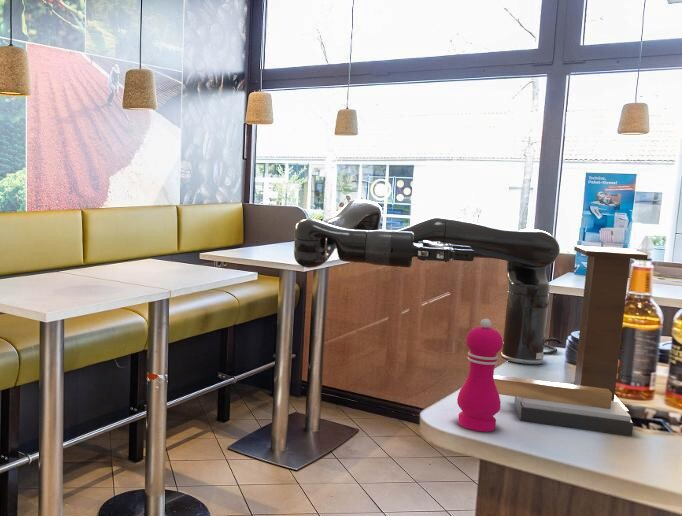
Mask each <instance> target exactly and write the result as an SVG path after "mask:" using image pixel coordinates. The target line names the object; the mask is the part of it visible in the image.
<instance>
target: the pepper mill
mask: <svg viewBox="0 0 682 516" xmlns="http://www.w3.org/2000/svg"><path fill="white" fill-rule="evenodd" d="M491 326H492V321H491V320H490V319H489V318H483V319H481V320H480V326H477V327H474V328H472V329H470V330H469V332H467V335H466V341H465V343H466V346H467V348H468V349H469V351H468V352H467V355H468V356H467V360H468V361H469V371H468V375H467V378H466V380H465V382H464V383H463V384H462V386H461V388H460V389H459V392H458V394H457V398H456V403H457V406H458V408H459V409H460V410H461V411H460V412H459V413H458V418H457V419H458V420H457V423H458V424H459V425H460V426H461V427H463V428H465V429H467V430H471V431H476V432H482V433H483V432H485V433H486V432H493V431H495V430H496V427H497V426H496V425H497V419H496V417H495V416H496V415H497V414H498V413H499V412H500V410H501V397H500V394H499V393H498V391H497V388H496V385H495V382H494V375H495V374H494V373H495V366H496V365H497V364H498V363H499V361H498V360H499V355H498V353H499V352H500V351H502V347H503V336H502V335H501V333H500V332H499V331H497V329H495V328H492V327H491Z"/></svg>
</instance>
